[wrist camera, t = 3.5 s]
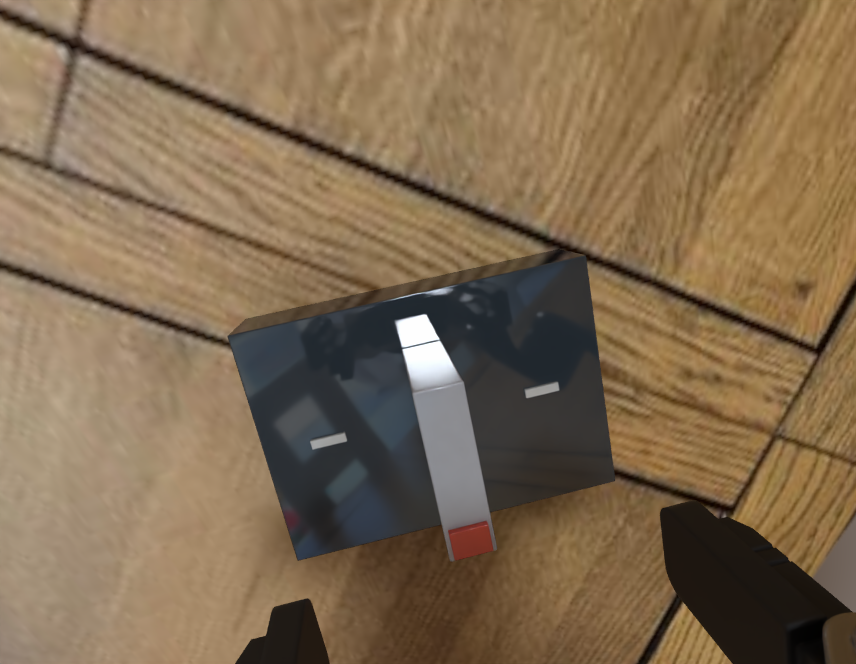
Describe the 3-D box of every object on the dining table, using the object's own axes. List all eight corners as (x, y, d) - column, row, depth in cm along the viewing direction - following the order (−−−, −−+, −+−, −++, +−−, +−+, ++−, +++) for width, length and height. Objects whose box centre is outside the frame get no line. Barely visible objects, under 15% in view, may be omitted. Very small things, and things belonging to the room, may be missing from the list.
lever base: (559, 248, 24) (587, 255, 21) (587, 450, 26) (617, 483, 23) (244, 319, 23) (225, 336, 20) (305, 520, 25) (297, 563, 22)
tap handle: (401, 349, 21) (412, 396, 16) (441, 339, 21) (465, 383, 16) (432, 484, 22) (451, 567, 17) (469, 475, 22) (499, 555, 17)
